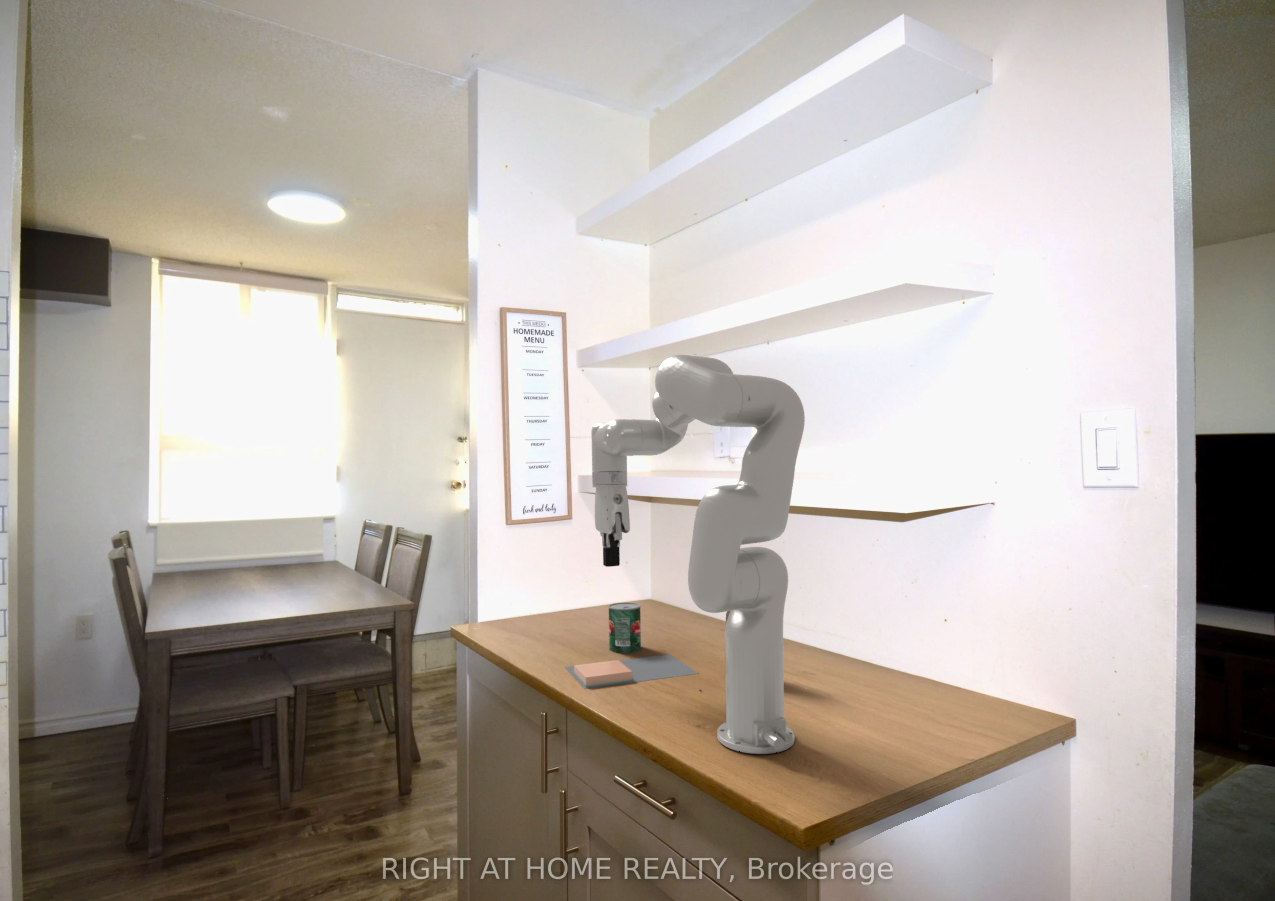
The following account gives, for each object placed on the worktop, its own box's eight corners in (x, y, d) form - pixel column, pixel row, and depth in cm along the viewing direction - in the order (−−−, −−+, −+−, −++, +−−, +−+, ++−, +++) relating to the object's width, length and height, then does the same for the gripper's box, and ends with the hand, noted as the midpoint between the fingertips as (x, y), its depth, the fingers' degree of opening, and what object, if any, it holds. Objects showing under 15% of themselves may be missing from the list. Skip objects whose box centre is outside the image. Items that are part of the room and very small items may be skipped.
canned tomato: (605, 648, 170) (604, 603, 171) (635, 644, 173) (634, 601, 173) (614, 656, 163) (613, 610, 163) (645, 653, 165) (644, 607, 165)
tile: (618, 668, 151) (632, 680, 143) (574, 674, 148) (585, 687, 139) (617, 659, 151) (631, 671, 143) (574, 665, 148) (585, 677, 139)
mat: (699, 675, 147) (698, 673, 147) (584, 691, 138) (584, 688, 138) (669, 656, 162) (669, 654, 162) (564, 669, 153) (564, 666, 153)
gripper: (639, 480, 142) (640, 569, 141) (614, 479, 155) (616, 560, 155) (604, 481, 139) (606, 571, 138) (582, 480, 153) (584, 562, 152)
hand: (611, 565), depth 147 cm, fingers closed
